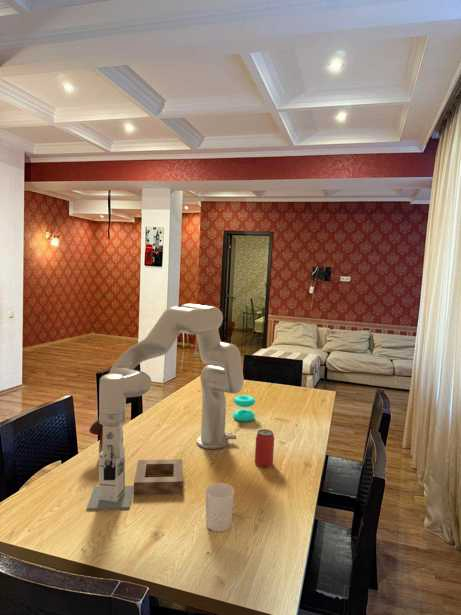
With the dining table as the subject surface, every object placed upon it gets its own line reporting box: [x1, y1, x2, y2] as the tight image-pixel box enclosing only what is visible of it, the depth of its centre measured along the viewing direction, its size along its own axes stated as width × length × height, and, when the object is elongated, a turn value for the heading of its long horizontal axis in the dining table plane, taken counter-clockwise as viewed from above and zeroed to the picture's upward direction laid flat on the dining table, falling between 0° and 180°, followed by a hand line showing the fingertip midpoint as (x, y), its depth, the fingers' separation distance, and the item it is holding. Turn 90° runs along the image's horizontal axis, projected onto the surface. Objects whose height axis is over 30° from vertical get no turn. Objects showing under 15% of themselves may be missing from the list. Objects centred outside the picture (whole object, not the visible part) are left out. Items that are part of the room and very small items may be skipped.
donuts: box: [232, 394, 256, 422], centre depth 200 cm, size 10×10×10 cm
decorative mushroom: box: [89, 419, 103, 455], centre depth 154 cm, size 11×11×15 cm
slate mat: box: [86, 485, 134, 511], centre depth 129 cm, size 12×12×1 cm
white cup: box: [205, 482, 235, 533], centre depth 118 cm, size 8×8×10 cm
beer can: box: [254, 428, 275, 469], centre depth 155 cm, size 7×7×12 cm
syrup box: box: [98, 447, 126, 502], centre depth 128 cm, size 6×6×14 cm
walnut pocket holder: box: [133, 458, 184, 496], centre depth 140 cm, size 15×15×4 cm
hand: (112, 471), depth 128 cm, fingers open, 9 cm apart
